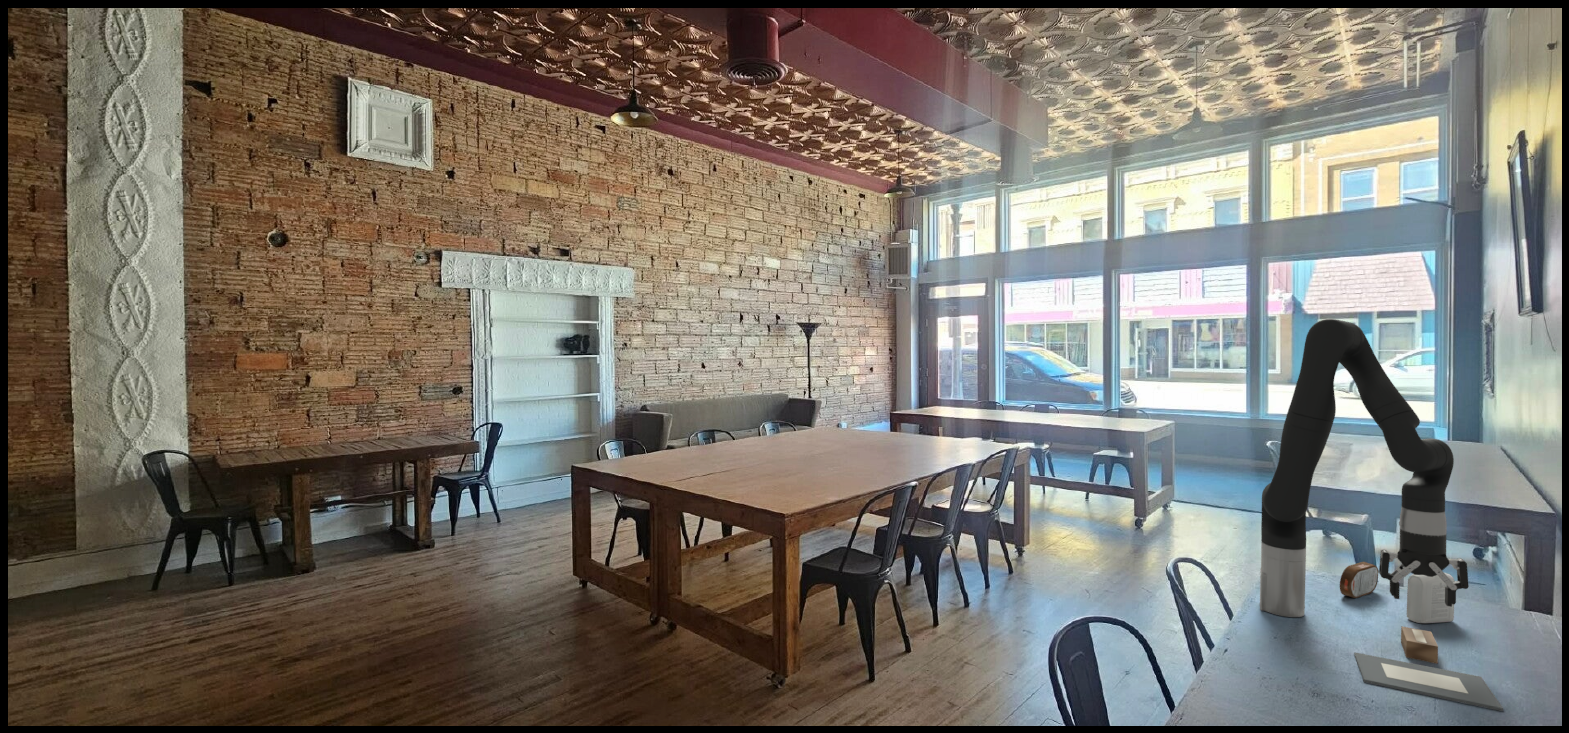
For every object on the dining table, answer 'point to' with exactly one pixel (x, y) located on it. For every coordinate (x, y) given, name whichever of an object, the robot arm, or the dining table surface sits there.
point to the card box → (1419, 644)
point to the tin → (1359, 579)
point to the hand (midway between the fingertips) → (1422, 601)
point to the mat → (1427, 681)
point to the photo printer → (1428, 599)
